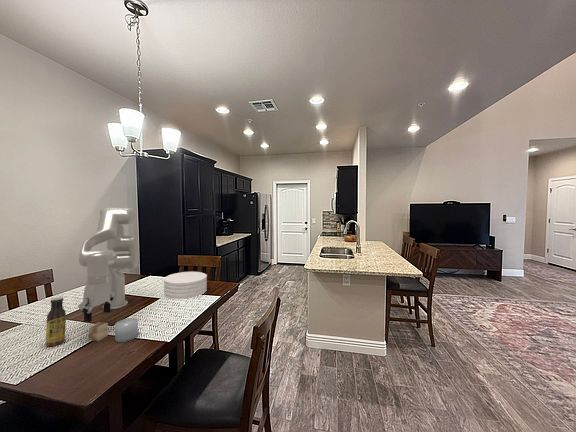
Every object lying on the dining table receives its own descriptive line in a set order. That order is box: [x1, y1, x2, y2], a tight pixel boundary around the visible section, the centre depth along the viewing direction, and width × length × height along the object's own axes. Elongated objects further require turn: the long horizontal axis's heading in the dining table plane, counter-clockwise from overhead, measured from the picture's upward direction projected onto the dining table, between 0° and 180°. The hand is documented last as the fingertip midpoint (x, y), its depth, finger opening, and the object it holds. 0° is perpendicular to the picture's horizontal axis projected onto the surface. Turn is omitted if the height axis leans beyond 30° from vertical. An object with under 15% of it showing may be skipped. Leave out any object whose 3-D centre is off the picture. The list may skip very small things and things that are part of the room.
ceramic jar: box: [114, 317, 139, 343], centre depth 114 cm, size 9×9×7 cm
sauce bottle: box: [45, 296, 67, 347], centre depth 108 cm, size 7×6×20 cm
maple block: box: [87, 321, 109, 342], centre depth 113 cm, size 5×5×6 cm
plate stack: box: [163, 271, 208, 300], centre depth 174 cm, size 28×28×12 cm
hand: (97, 316), depth 112 cm, fingers open, 9 cm apart
